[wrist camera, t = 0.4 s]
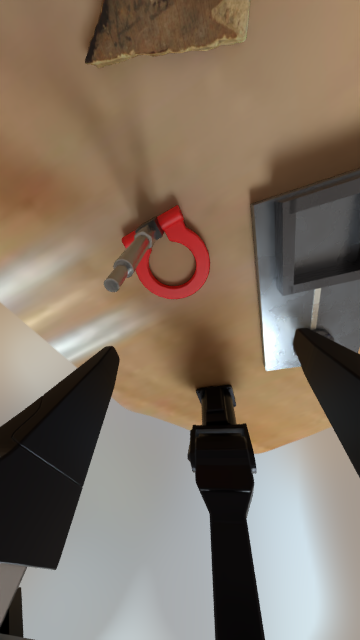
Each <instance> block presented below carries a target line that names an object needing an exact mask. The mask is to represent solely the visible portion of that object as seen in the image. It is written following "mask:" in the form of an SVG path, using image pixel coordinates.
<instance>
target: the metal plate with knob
mask: <svg viewBox="0 0 360 640" xmlns="http://www.w3.org/2000/svg"><path fill="white" fill-rule="evenodd" d="M251 216H252V228H253V241H254V253H255V265H256V277H257V289H258V301H259V313H260V325H261V337H262V349H263V362H264V367H265V369H266V371H270V370H277V369H284V368H292V367H299V366H301V364H300V362H299V359H298V357H297V354H296V351H295V349H294V346H293V340H294V335H295V331H296V329H298V328H309V329H311V330H313V331H315V332H317V333H319V334H321V335H323V336H325V337H327V338H328V339H330V340H332V341H334V342H336V343H338V344H340V345H342V346H344V347H346V348H348V349H350V350H352V351H354V352H356V353H358V350H359V347H360V168H358V169H355V170H352V171H349V172H346V173H343V174H340V175H337V176H334V177H331V178H328V179H325V180H322V181H319V182H316V183H313V184H310V185H307V186H304V187H301V188H298V189H295V190H292V191H289V192H286V193H283V194H280V195H277V196H274V197H271V198H268V199H265V200H262V201H259V202H256V203H253V204H251Z"/></svg>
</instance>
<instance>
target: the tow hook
mask: <svg viewBox="0 0 360 640" xmlns="http://www.w3.org/2000/svg"><path fill="white" fill-rule="evenodd" d="M183 220H184V218H183V215H182V212H181V210H180V208H179V206H178V205H176V206H175V207H173V208H171V209H170V210H168V211H166V212H165V213H163V214H161V215H160V216H158V217H157V216H156V217H154V218H152V219H151V220H149V221H147V222H146V223H144V224H142V225H141V226H139V227H138V228H137V229H136V230H134V231H133V232H131V233H129V234H128V235H126V236H124V237H123V238H122V243H123V245H124V246H125V248H126V250H125V251H124V252H123V253H122V254H121V256H120V257H119V258H118V259H117V260H116V261H115V263H114V266H113V267H114V270H113V271H112V272H111V274H110V275H109V276H108V277H107V278H106V280H105V281H104V286H105V288H106V289H107V290H108V291H110V292H117V291H118V290H119V288H120V287H121V285H122V283H123V282H124V280H125V279H126V278H129V277H131V276H132V274H133V273H134V271H135V270H136V273H137V275H138V277H139V280H140V281H141V282H142V284H143V285H144V286H145V287H146V288H147V289H148V290H149V291H151V292H152V293H154V294H156V295H158V296H160V297H163V298H167V299H180V298H185V297H188V296H190V295H192V294H194V293H195V292H196V291H198V290H199V289H200V288H201V287H202V285H203V284H204V283H205V281H206V279H207V277H208V274H209V269H210V259H209V253H208V250H207V248H206V246H205V244H204V242H203V241H202V239H201V238H200V237H199V236H198V235H197V234H196V233H195V232H193V231H192V230H190V229H189V228H186V226H185V224H184V221H183ZM164 231H165V233H166V235H167V237H168V239H169V240H170V241H172V242H178V243H181V244H183V245H185V246H186V247H188V248H189V250H190V251H191V252H192V253H193V255H194V257H195V260H196V270H195V273H194V275H193V276H192V278H191V279H190V280H189V281H188V282H186V283H184V284H182V285H179V286H168V285H164V284H162V283H161V282H159V281H158V280H157V279H156V278H155V277H154V276H153V275H152V273H151V271H150V268H149V256H150V254H151V251H152V247H153V245H154V243H155V241H156V240H157V239H159V238H161V237H162V236H163V234H164Z"/></svg>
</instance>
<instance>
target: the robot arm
mask: <svg viewBox="0 0 360 640" xmlns="http://www.w3.org/2000/svg"><path fill="white" fill-rule="evenodd" d="M293 346H294V349H295V351H296V354H297V357H298V359H299V362H300V364H301V367H302V369H303V372H304V374H305V376H306V378H307V380H308V382H309V384H310V386H311V388H312V390H313V392H314V394H315V395H316V397H317V399H318V401H319V403H320V405H321V407H322V408H323V410H324V412H325V414H326V416H327V418H328V420H329V421H330V423H331V425H332V427H333V429H334V431H335V432H336V434H337V436H338V438H339V440H340V442H341V443H342V445H343V447H344V449H345V451H346V453H347V455H348V456H349V459H350V461H351V462H352V464H353V466H354V468H355V470H356V472H357V474H358V475H359V477H360V354H358V353H356V352H354V351H352V350H350V349H348V348H346V347H344V346H342V345H340V344H338V343H336V342H334V341H332V340H330V339H328V338H327V337H325V336H323V335H321V334H319V333H317V332H315V331H313V330H311V329H309V328H298V329H296V331H295V335H294V340H293ZM119 360H120V359H119V356H118V354H117V352H116V350H115V348H114V347H113V346H107V347H104V348H103V349H102V350H100V351H99V352H98V353H97V354H95V355H94V356H93V357H91V358H90V359H89V360H88V361H86V362H85V363H84V364H82V365H81V366H80V367H79V368H77V369H76V370H75V371H74V372H72V373H71V374H70V375H68V376H67V377H66V378H65V379H63V380H62V381H61V382H59V383H58V384H57V385H56V386H54V387H53V388H52V389H51V390H49V391H48V392H47V393H45V394H44V396H41V397H40V398H39V399H38V400H36V401H35V402H34V403H32V404H31V405H30V406H28V407H27V408H26V409H25V410H23V411H22V412H20V413H19V414H18V415H16V416H15V417H13V418H12V419H11V420H9V421H8V422H7V423H5V424H4V425H2V426H1V427H0V640H33V639H27V638H23V619H22V597H21V587H19V584H20V582H21V580H22V577H23V575H24V573H25V571H26V569H27V567H35V568H44V569H52V570H56V568H57V566H58V563H59V560H60V557H61V554H62V551H63V548H64V545H65V542H66V538H67V535H68V532H69V529H70V526H71V523H72V520H73V516H74V513H75V510H76V507H77V504H78V501H79V497H80V494H81V491H82V486H83V484H84V481H85V478H86V475H87V472H88V468H89V465H90V462H91V459H92V456H93V453H94V449H95V446H96V443H97V440H98V437H99V434H100V430H101V427H102V424H103V421H104V418H105V415H106V411H107V408H108V405H109V402H110V399H111V396H112V392H113V389H114V385H115V381H116V376H117V371H118V366H119ZM196 393H197V396H198V398H199V400H200V403H201V405H202V425H193V428H192V430H190V445H189V450H188V460H189V461H190V462H191V466H192V471H193V472H195V476H196V484H197V486H198V488H199V491H200V493H201V495H202V497H203V500H204V502H205V504H206V506H207V509H208V511H209V513H210V529H211V552H212V574H213V597H214V617H215V640H265V637H264V630H263V624H262V617H261V611H260V604H259V598H258V592H257V585H256V578H255V572H254V565H253V559H252V554H251V546H250V540H249V533H248V526H247V520H246V518H247V514H248V511H249V507H250V503H251V500H252V496H253V488H254V479H253V473H256V463H255V457H254V452H253V448H252V444H251V440H250V437H249V433H248V429H247V425H246V424H236V418H235V412H234V407H235V406H236V402H235V398H234V394H233V390H232V386H231V385H225V386H217V387H209V388H201V389H197V390H196Z"/></svg>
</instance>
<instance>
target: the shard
mask: <svg viewBox="0 0 360 640" xmlns="http://www.w3.org/2000/svg"><path fill="white" fill-rule="evenodd" d="M249 7H250V0H103V2H102V8H101V13H100V16H99V20H98V24H97V26H96V28H95V33H94V35H93V37H92V39H91V41H90V44H89V49H88V53H87V56H86V59H85V63H86V64H92V65H96V66H97V68H102V67H104V66H106V65H111V64H117V63H120V62H123V61H125V60H127V59H129V58H133V57H135V56H138V55H143V54H145V55H151V56H153V57H154V56H160V55H165V54H168V53H183V52H188V51H191V50H196V51H199V50H200V51H207V50H210V49H213V48H217V47H219V46H220V45H233V44H235V43H237V42H238V43H241V42H244V41H245V40H246V38H247V28H248V20H249Z"/></svg>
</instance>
